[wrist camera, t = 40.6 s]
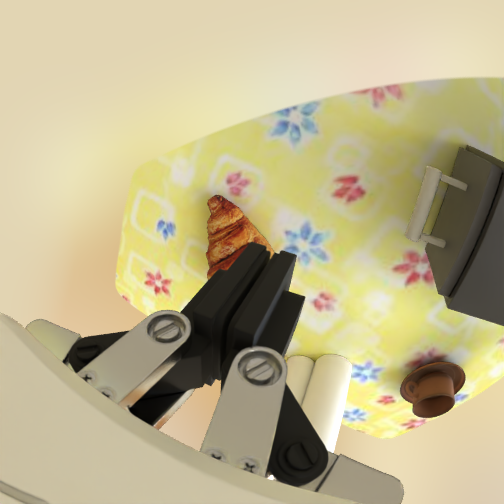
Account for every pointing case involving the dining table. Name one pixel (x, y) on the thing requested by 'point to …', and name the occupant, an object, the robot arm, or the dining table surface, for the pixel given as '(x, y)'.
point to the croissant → (228, 234)
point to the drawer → (454, 215)
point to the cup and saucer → (433, 388)
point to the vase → (321, 392)
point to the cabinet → (484, 264)
